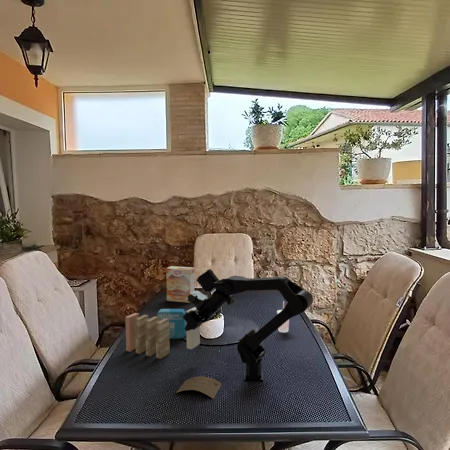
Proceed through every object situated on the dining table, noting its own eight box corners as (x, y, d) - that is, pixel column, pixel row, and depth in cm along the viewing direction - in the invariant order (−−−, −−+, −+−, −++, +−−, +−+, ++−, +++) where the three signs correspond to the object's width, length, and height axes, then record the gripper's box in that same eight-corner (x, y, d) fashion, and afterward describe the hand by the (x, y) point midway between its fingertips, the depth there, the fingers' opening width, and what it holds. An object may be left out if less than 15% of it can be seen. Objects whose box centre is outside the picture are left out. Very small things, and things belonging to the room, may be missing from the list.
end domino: (139, 346, 162) (139, 313, 161) (130, 351, 157) (129, 317, 156) (136, 345, 163) (135, 312, 162) (126, 350, 158) (125, 317, 157)
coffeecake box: (166, 301, 229) (165, 268, 227) (171, 297, 236) (171, 265, 234) (190, 303, 224) (189, 269, 223) (194, 299, 231) (194, 267, 229)
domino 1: (149, 348, 160) (148, 315, 159) (139, 354, 155) (139, 319, 154) (145, 347, 161) (144, 314, 160) (135, 353, 156) (135, 318, 155)
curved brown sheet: (172, 396, 124) (172, 388, 124) (183, 381, 134) (183, 373, 134) (216, 401, 121) (216, 393, 121) (224, 385, 131) (224, 377, 131)
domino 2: (159, 350, 158) (158, 317, 157) (150, 356, 153) (149, 321, 151) (155, 349, 159) (154, 316, 158) (146, 355, 154) (145, 320, 152)
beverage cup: (285, 327, 184) (286, 298, 182) (292, 332, 178) (293, 301, 177) (274, 329, 182) (274, 299, 180) (280, 333, 176) (281, 303, 175)
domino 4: (199, 343, 149) (199, 307, 148) (191, 349, 143) (190, 312, 142) (195, 342, 150) (194, 307, 149) (186, 348, 144) (185, 311, 143)
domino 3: (169, 353, 156) (169, 318, 154) (160, 359, 150) (159, 323, 149) (165, 352, 157) (164, 318, 155) (156, 357, 151) (155, 322, 150)
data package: (157, 338, 171) (156, 311, 170) (159, 334, 175) (158, 308, 174) (184, 338, 171) (184, 311, 170) (185, 334, 175) (185, 308, 174)
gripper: (213, 279, 151) (190, 304, 157) (187, 290, 135) (162, 317, 141) (232, 302, 148) (207, 326, 154) (207, 316, 131) (180, 342, 138)
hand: (190, 327), depth 147 cm, fingers closed on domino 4, 6 cm apart
